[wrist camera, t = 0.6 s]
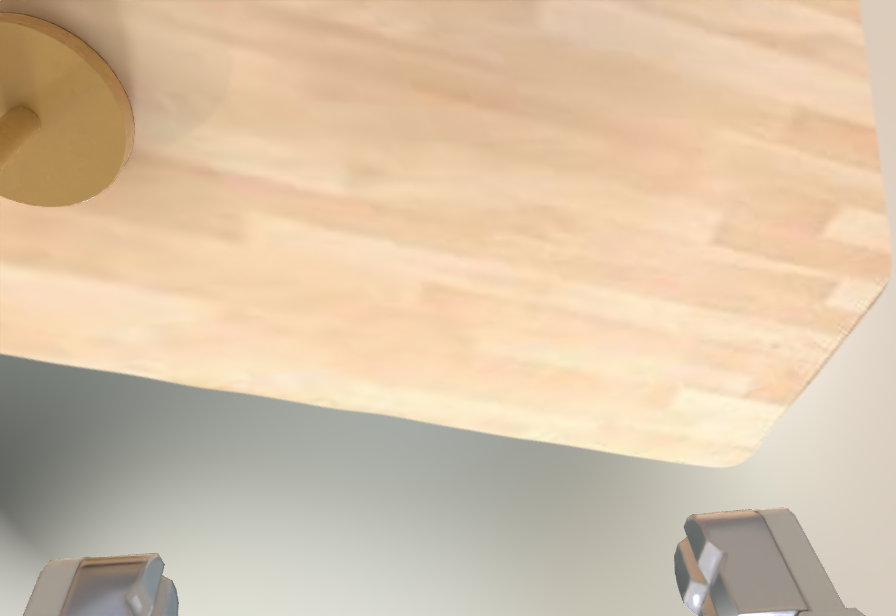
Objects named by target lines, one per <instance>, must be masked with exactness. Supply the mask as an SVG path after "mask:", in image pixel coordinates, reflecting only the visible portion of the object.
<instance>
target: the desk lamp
mask: <svg viewBox="0 0 896 616" xmlns="http://www.w3.org/2000/svg"><path fill="white" fill-rule="evenodd" d="M133 142H134V119H133V114H132V110H131V106H130V103H129V101H128V98H127V95H126V93H125V91H124V89H123V87H122V85H121V83H120V82H119V80H118V79H117V77H116V75H115V74H114V72H113V71H112V70H111V69H110V67H109V66H108V65H107V64H106V62H105V61H104V60H103V59H102V58H101V57H100V56H99V55H98V54H97V53H96V52H95V51H94V50H93V49H91V48H90V47H89V46H88V45H87V44H85V43H84V42H83V41H82V40H80V39H79V38H77V37H76V36H74V35H73V34H71V33H70V32H68V31H66V30H64V29H62V28H60V27H58V26H57V25H54V24H52V23H49V22H47V21H44V20H42V19H39V18H35V17H32V16H28V15H23V14H17V13H5V12H0V196H2V197H4V198H7V199H10V200H13V201H16V202H19V203H24V204H28V205H33V206H42V207H62V206H70V205H74V204H79V203H82V202H85V201H87V200H90V199H92V198H94V197H96V196H97V195H99V194H101V193H102V192H103V191H104V190H106V189H107V188H108V187H109V186H110V185H111V184H112V183H113V182H114V181H115V179H116V178H117V176H118V175H119V173H120V172H121V170H122V169H123V167H124V166H125V164H126V162H127V161H128V158H129V156H130V154H131V151H132V146H133Z"/></svg>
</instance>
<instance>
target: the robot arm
mask: <svg viewBox="0 0 896 616" xmlns="http://www.w3.org/2000/svg"><path fill="white" fill-rule="evenodd" d="M684 529H685V532H686V535H687V537H686V538H685V539H684V540H682V541H681V542H679V543H678V546H677V549H676V552H675V556H674V557H675V575H676V580H677V584H678V588H679V591H680V594H681V597H682V600H683V603H684V604H685V605H687V606H688V607H689V608H690V609H691V610H692V611H693V612H694V613H696V614H697V615H698V616H865V615H864V614H862V613H861V612H860V611H859V610H857V609H856V608H845V606H844V605H843V603H842V601H841V599H840V597H839V595H838V593H837V592H836V590H835V588H834V586H833V584H832V582H831V581H830V579H829V577H828V575H827V573H826V571H825V569H824V568H823V566H822V564H821V563H820V560H819V558H818V557H817V555H816V553H815V551H814V549H813V548H812V546H811V544H810V542H809V540H808V538H807V536H806V535H805V533H804V531H803V529H802V527H801V525H800V524H799V522H798V520H797V518H796V516H795V515H794V514H793V513H792V512H791V511H790V510H789V509H787V508H768V509H756V510H752V509H748V510H737V511H727V512H715V513H704V514H692V515H691V516H689V517H688V518H687V520H686V523H685V525H684ZM164 565H165V564H164V563H163V561H162V559H161V557H160V556H159V554H158V553H149V554H136V555H121V556H107V557H83V558H70V559H58V560H50V561H49V563H48V564H47V565H46V566H45V568H44V569H43V570H42V571H41V573H40V575H39V577H38V580H37V583H36V585H35V587H34V590H33V592H32V595H31V597H30V599H29V602H28V604H27V607H26V609H25V612H24V614H23V616H178V604H179V602H178V596H177V590H176V588H175V585H174V583H173V581H172V580H170V579H168V578H166V577H164V576H163V575H162V573H163V569H164Z"/></svg>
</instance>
